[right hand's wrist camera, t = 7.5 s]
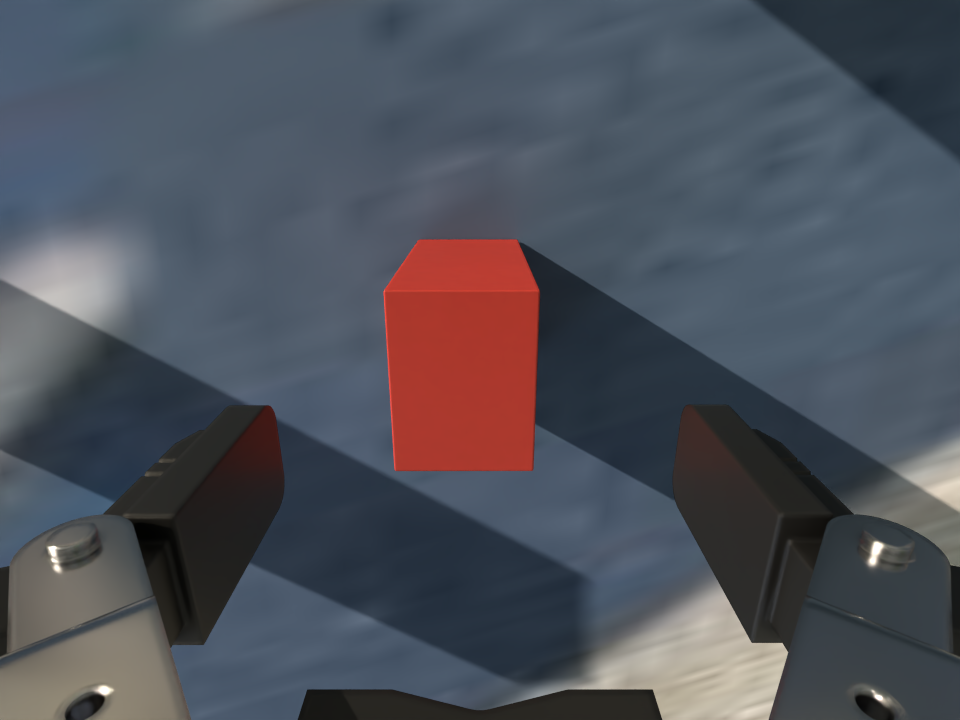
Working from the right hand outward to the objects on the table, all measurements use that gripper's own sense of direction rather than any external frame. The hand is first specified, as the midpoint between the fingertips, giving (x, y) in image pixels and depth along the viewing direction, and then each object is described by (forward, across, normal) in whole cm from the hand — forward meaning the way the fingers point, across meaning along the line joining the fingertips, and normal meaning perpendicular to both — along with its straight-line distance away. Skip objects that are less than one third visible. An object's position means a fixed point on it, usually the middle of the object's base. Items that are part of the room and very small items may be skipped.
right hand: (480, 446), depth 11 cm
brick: (+14, 0, -1) cm, 14 cm away
